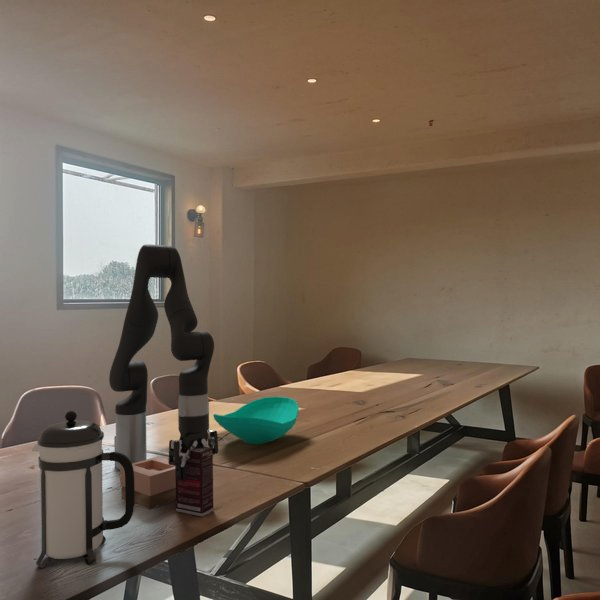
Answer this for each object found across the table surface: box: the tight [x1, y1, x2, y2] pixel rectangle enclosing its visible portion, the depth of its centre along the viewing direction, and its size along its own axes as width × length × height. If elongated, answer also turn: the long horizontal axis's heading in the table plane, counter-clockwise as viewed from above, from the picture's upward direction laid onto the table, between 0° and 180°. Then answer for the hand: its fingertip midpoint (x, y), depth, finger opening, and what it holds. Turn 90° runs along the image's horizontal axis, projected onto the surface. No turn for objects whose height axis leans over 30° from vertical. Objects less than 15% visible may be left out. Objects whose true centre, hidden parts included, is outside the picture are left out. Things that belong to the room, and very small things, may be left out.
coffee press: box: [31, 410, 135, 569], centre depth 118 cm, size 17×16×30 cm
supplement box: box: [175, 447, 214, 518], centre depth 140 cm, size 9×5×16 cm, turn 62°
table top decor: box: [212, 396, 300, 445], centre depth 206 cm, size 40×28×13 cm
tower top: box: [119, 456, 176, 496], centre depth 150 cm, size 13×12×5 cm
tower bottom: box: [121, 486, 176, 510], centre depth 150 cm, size 12×12×4 cm
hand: (194, 476), depth 140 cm, fingers open, 8 cm apart
